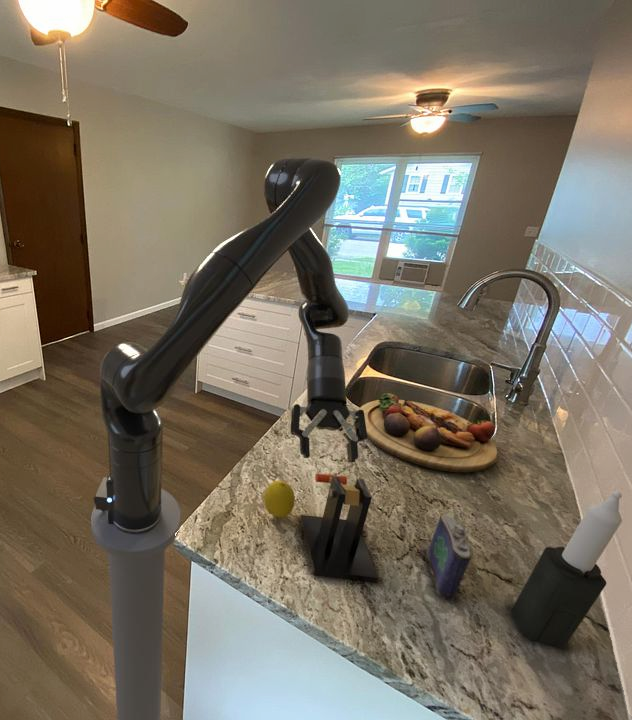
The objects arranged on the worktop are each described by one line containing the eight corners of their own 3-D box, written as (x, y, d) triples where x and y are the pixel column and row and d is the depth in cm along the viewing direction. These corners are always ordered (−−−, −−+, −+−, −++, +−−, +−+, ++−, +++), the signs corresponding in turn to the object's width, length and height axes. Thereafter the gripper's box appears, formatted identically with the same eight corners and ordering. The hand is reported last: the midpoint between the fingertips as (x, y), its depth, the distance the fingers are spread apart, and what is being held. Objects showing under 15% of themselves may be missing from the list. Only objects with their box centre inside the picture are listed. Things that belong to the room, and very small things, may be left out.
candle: (524, 638, 55) (605, 501, 45) (508, 605, 59) (579, 474, 50) (568, 651, 53) (662, 512, 44) (548, 616, 58) (630, 483, 48)
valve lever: (314, 482, 74) (315, 470, 74) (343, 485, 74) (344, 473, 74) (334, 503, 62) (335, 488, 62) (369, 507, 62) (370, 492, 62)
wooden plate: (490, 428, 107) (500, 402, 104) (502, 494, 82) (516, 463, 79) (365, 395, 123) (371, 372, 120) (344, 443, 98) (350, 414, 95)
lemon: (294, 526, 72) (301, 493, 69) (265, 526, 72) (270, 492, 69) (286, 505, 77) (292, 472, 74) (259, 504, 77) (264, 472, 74)
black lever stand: (300, 519, 74) (312, 460, 69) (354, 525, 73) (370, 466, 68) (313, 575, 63) (328, 510, 58) (376, 583, 62) (398, 517, 57)
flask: (423, 550, 68) (441, 503, 64) (442, 555, 67) (462, 508, 63) (438, 598, 60) (460, 547, 56) (459, 604, 59) (483, 553, 55)
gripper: (295, 372, 79) (296, 453, 72) (368, 378, 77) (375, 461, 71) (287, 384, 85) (287, 459, 79) (354, 389, 84) (359, 466, 78)
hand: (329, 459), depth 75 cm, fingers open, 8 cm apart
